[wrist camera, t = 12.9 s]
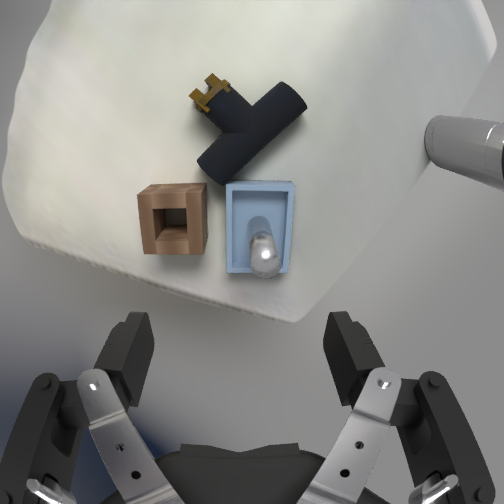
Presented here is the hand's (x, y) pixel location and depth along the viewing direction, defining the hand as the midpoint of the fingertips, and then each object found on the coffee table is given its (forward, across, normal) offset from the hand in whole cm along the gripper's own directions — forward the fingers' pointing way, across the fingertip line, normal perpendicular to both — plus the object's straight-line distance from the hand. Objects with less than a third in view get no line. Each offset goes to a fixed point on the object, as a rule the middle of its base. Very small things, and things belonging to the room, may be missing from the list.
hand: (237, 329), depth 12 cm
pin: (+29, -3, +6) cm, 30 cm away
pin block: (+30, +9, +4) cm, 31 cm away
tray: (+30, -3, +6) cm, 31 cm away
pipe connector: (+31, +1, -10) cm, 32 cm away
